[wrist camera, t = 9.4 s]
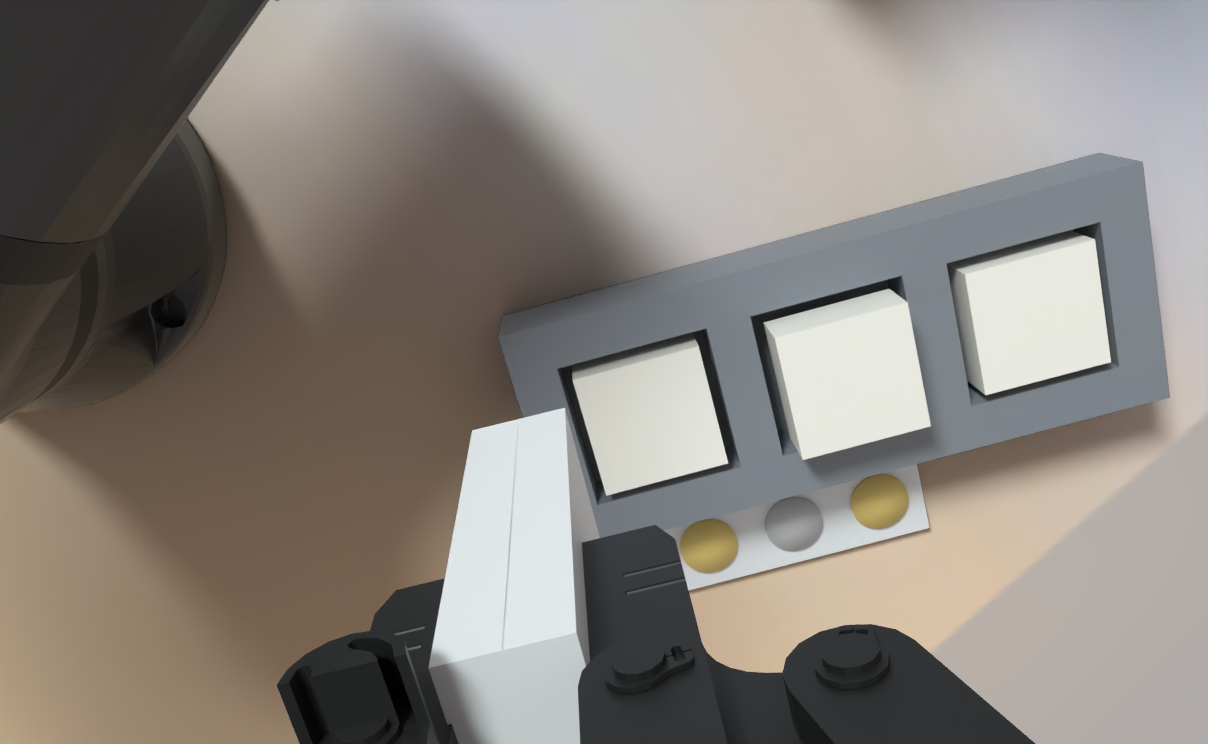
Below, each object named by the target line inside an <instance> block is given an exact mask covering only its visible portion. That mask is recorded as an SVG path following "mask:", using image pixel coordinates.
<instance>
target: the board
mask: <svg viewBox="0 0 1208 744" xmlns="http://www.w3.org/2000/svg"><path fill="white" fill-rule="evenodd" d="M1069 230H1071V231H1073V232H1076V233H1079V234H1082V235H1084V236H1087V237H1090V238H1093V239H1095V243H1096V251H1097V259H1098V266H1099V274H1100V281H1101V289H1102V297H1103V304H1104V312H1105V319H1106V327H1107V335H1108V342H1109V350H1110V357H1111V362H1110V363H1106V364H1102V365H1098V366H1095V367H1091V368H1087V369H1083V370H1080V371H1076V372H1072V373H1068V374H1064V375H1061V376H1057V377H1053V378H1049V379H1046V380H1042V381H1038V382H1034V383H1030V384H1027V385H1023V386H1019V387H1015V388H1012V389H1008V390H1004V391H1000V392H996V393H993V394H989V395H984V394H983V393H982V392H981V391H980V390H978V389H977V388H976V387H975V386H973V385H972V384H971V383H970V382H969V381H967V378H966V372H965V367H964V361H963V355H962V349H961V344H960V338H959V332H958V327H957V321H956V315H955V309H954V304H953V298H952V292H951V287H950V281H949V275H948V270H947V263H950V262H954V261H958V260H962V259H965V258H969V257H973V256H976V255H980V254H984V253H987V252H991V251H995V250H999V249H1002V248H1006V247H1010V246H1013V245H1017V244H1021V243H1024V242H1028V241H1032V240H1036V239H1039V238H1043V237H1047V236H1050V235H1054V234H1058V233H1061V232H1065V231H1069ZM886 289H890V290H892V291H893V292H894V293H896V294H897V295H898V296H900V297H901V298H902V299H904V300H905V301H906V302H908V307H909V312H910V318H911V323H912V328H913V334H914V339H915V344H916V349H917V355H918V360H919V365H920V371H921V376H922V381H923V387H924V392H925V397H926V402H927V408H928V413H929V418H930V424H931V426H930V427H926V428H923V429H919V430H915V431H911V432H907V433H904V434H900V435H896V436H892V437H888V438H885V439H881V440H877V441H873V442H870V443H866V444H862V445H858V446H854V447H851V448H847V449H843V450H839V451H835V452H832V453H828V454H824V455H820V456H817V457H813V458H809V459H805V460H802V458H801V456H800V455H799V453H798V451H797V449H796V448H795V446H794V444H793V443H792V441H791V439H790V435H789V431H788V427H787V422H786V418H785V414H784V409H783V405H782V401H781V397H780V392H779V388H778V384H777V379H776V375H775V371H774V366H773V362H772V358H771V353H770V349H769V345H768V340H767V336H766V332H765V328H764V323H763V322H767V321H771V320H775V319H778V318H782V317H786V316H789V315H793V314H797V313H801V312H804V311H808V310H812V309H815V308H819V307H823V306H826V305H830V304H834V303H838V302H841V301H845V300H849V299H852V298H856V297H860V296H863V295H867V294H871V293H875V292H878V291H882V290H886ZM691 332H692V333H693V335H694V337H695V339H696V341H697V344H698V346H699V350H700V353H701V357H702V361H703V365H704V369H705V373H706V377H707V381H708V385H709V389H710V393H711V397H712V401H713V405H714V409H715V413H716V417H717V421H718V425H719V429H720V433H721V437H722V440H723V444H724V448H725V452H726V456H727V460H728V464H724V465H720V466H717V467H713V468H709V469H705V470H702V471H698V472H694V473H690V474H686V475H683V476H679V477H675V478H671V479H668V480H664V481H660V482H656V483H652V484H649V485H645V486H641V487H637V488H634V489H630V490H626V491H622V492H618V493H615V494H611V495H607V496H606V493H605V490H604V486H603V483H602V479H601V476H600V472H599V469H598V466H597V462H596V459H595V455H594V452H593V449H592V445H591V442H590V438H589V435H588V432H587V428H586V425H585V421H584V418H583V414H582V411H581V408H580V404H579V401H578V397H577V394H576V391H575V387H574V384H573V380H572V365H573V364H577V363H580V362H584V361H588V360H592V359H595V358H599V357H603V356H606V355H610V354H614V353H617V352H621V351H625V350H629V349H632V348H636V347H640V346H643V345H647V344H651V343H654V342H658V341H662V340H666V339H669V338H673V337H677V336H680V335H684V334H688V333H691ZM498 339H499V342H500V346H501V349H502V352H503V355H504V359H505V362H506V365H507V368H508V371H509V375H510V378H511V381H512V384H513V387H514V391H515V394H516V397H517V400H518V403H519V407H520V410H521V413H522V416H523V418H525V417H529V416H533V415H537V414H541V413H545V412H549V411H553V410H557V409H562V408H565V410H566V413H567V417H568V421H569V425H570V428H571V432H572V436H573V440H574V443H575V447H576V451H577V454H578V458H579V462H580V466H581V469H582V473H583V477H584V480H585V484H586V488H587V492H588V495H589V499H590V503H591V507H592V510H593V514H594V518H595V521H596V525H597V529H598V533H599V536H600V538H603V537H607V536H611V535H615V534H619V533H623V532H627V531H631V530H636V529H640V528H644V527H648V526H652V525H656V526H658V527H659V528H661V529H662V530H663V531H664V530H667V529H671V528H675V527H679V526H683V525H686V524H690V523H694V522H698V521H702V520H705V519H709V518H713V517H717V516H721V515H724V514H728V513H732V512H736V511H740V510H744V509H747V508H751V507H755V506H759V505H763V504H766V503H770V502H774V501H778V500H782V499H785V498H789V497H793V496H797V495H801V494H804V493H808V492H812V491H816V490H820V489H823V488H827V487H831V486H835V485H839V484H842V483H846V482H850V481H854V480H858V479H861V478H865V477H869V476H873V475H877V474H880V473H884V472H888V471H892V470H896V469H899V468H903V467H907V466H911V465H915V464H919V463H922V462H926V461H930V460H934V459H938V458H941V457H945V456H949V455H953V454H957V453H960V452H964V451H968V450H972V449H976V448H979V447H983V446H987V445H991V444H995V443H998V442H1002V441H1006V440H1010V439H1014V438H1017V437H1021V436H1025V435H1029V434H1033V433H1036V432H1040V431H1044V430H1048V429H1052V428H1055V427H1059V426H1063V425H1067V424H1071V423H1075V422H1078V421H1082V420H1086V419H1090V418H1094V417H1097V416H1101V415H1105V414H1109V413H1113V412H1116V411H1120V410H1124V409H1128V408H1132V407H1135V406H1139V405H1143V404H1147V403H1151V402H1154V401H1158V400H1162V399H1166V398H1170V394H1169V386H1168V377H1167V368H1166V360H1165V351H1164V342H1163V334H1162V325H1161V316H1160V307H1159V299H1158V290H1157V281H1156V273H1155V264H1154V255H1153V247H1152V238H1151V229H1150V221H1149V212H1148V203H1147V194H1146V186H1145V177H1144V168H1143V162H1141V161H1137V160H1132V159H1127V158H1122V157H1117V156H1112V155H1107V154H1102V153H1097V154H1093V155H1090V156H1086V157H1082V158H1079V159H1075V160H1071V161H1068V162H1064V163H1060V164H1057V165H1053V166H1049V167H1046V168H1042V169H1039V170H1035V171H1031V172H1028V173H1024V174H1020V175H1017V176H1013V177H1009V178H1006V179H1002V180H998V181H995V182H991V183H987V184H984V185H980V186H976V187H973V188H969V189H965V190H962V191H958V192H954V193H951V194H947V195H943V196H940V197H936V198H932V199H929V200H925V201H921V202H918V203H914V204H910V205H907V206H903V207H899V208H896V209H892V210H888V211H885V212H881V213H877V214H874V215H870V216H866V217H863V218H859V219H855V220H852V221H848V222H844V223H841V224H837V225H833V226H830V227H826V228H822V229H819V230H815V231H811V232H808V233H804V234H800V235H797V236H793V237H789V238H786V239H782V240H778V241H775V242H771V243H767V244H764V245H760V246H756V247H753V248H749V249H745V250H742V251H738V252H734V253H731V254H727V255H723V256H720V257H716V258H712V259H709V260H705V261H701V262H698V263H694V264H690V265H687V266H683V267H679V268H676V269H672V270H668V271H665V272H661V273H657V274H654V275H650V276H646V277H643V278H639V279H635V280H632V281H628V282H624V283H621V284H617V285H613V286H610V287H606V288H602V289H599V290H595V291H591V292H588V293H584V294H580V295H577V296H573V297H569V298H566V299H562V300H558V301H555V302H551V303H548V304H544V305H540V306H537V307H533V308H529V309H526V310H522V311H518V312H515V313H511V314H507V315H504V316H502V320H501V325H500V330H499V334H498Z"/></svg>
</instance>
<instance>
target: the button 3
mask: <svg viewBox="0 0 1208 744" xmlns="http://www.w3.org/2000/svg"><path fill="white" fill-rule="evenodd" d="M947 270H948V275H949V281H950V287H951V292H952V298H953V304H954V309H955V315H956V321H957V327H958V332H959V338H960V344H961V349H962V355H963V361H964V367H965V372H966V378H967V381H969V382H970V383H971V384H972V385H973V386H975V387H976V388H977V389H978V390H980V391H981V392H982V393H983V394H984V395H989V394H993V393H996V392H1000V391H1004V390H1008V389H1012V388H1015V387H1019V386H1023V385H1027V384H1030V383H1034V382H1038V381H1042V380H1046V379H1049V378H1053V377H1057V376H1061V375H1064V374H1068V373H1072V372H1076V371H1080V370H1083V369H1087V368H1091V367H1095V366H1098V365H1102V364H1106V363H1110V362H1111V357H1110V350H1109V342H1108V335H1107V327H1106V319H1105V312H1104V304H1103V297H1102V289H1101V281H1100V274H1099V266H1098V259H1097V251H1096V243H1095V239H1093V238H1090V237H1087V236H1084V235H1082V234H1079V233H1076V232H1073V231H1071V230H1069V231H1065V232H1061V233H1058V234H1054V235H1050V236H1047V237H1043V238H1039V239H1036V240H1032V241H1028V242H1024V243H1021V244H1017V245H1013V246H1010V247H1006V248H1002V249H999V250H995V251H991V252H987V253H984V254H980V255H976V256H973V257H969V258H965V259H962V260H958V261H954V262H950V263H947Z"/></svg>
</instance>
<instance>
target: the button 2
mask: <svg viewBox="0 0 1208 744" xmlns="http://www.w3.org/2000/svg"><path fill="white" fill-rule="evenodd" d="M763 323H764V328H765V332H766V336H767V340H768V345H769V349H770V353H771V358H772V362H773V366H774V371H775V375H776V379H777V384H778V388H779V392H780V397H781V401H782V405H783V409H784V414H785V418H786V422H787V427H788V431H789V435H790V439H791V441H792V443H793V444H794V446H795V448H796V449H797V451H798V453H799V455H800V456H801V458H802V460H805V459H809V458H813V457H817V456H820V455H824V454H828V453H832V452H835V451H839V450H843V449H847V448H851V447H854V446H858V445H862V444H866V443H870V442H873V441H877V440H881V439H885V438H888V437H892V436H896V435H900V434H904V433H907V432H911V431H915V430H919V429H923V428H926V427H930V426H931V424H930V418H929V413H928V408H927V402H926V397H925V392H924V387H923V381H922V376H921V371H920V365H919V360H918V355H917V349H916V344H915V339H914V334H913V328H912V323H911V318H910V312H909V307H908V302H906V301H905V300H904V299H902V298H901V297H900V296H898V295H897V294H896V293H894V292H893V291H892V290H890V289H886V290H882V291H878V292H875V293H871V294H867V295H863V296H860V297H856V298H852V299H849V300H845V301H841V302H838V303H834V304H830V305H826V306H823V307H819V308H815V309H812V310H808V311H804V312H801V313H797V314H793V315H789V316H786V317H782V318H778V319H775V320H771V321H767V322H763Z"/></svg>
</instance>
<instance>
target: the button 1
mask: <svg viewBox="0 0 1208 744" xmlns="http://www.w3.org/2000/svg"><path fill="white" fill-rule="evenodd" d="M572 380H573V384H574V387H575V391H576V394H577V397H578V401H579V404H580V408H581V411H582V414H583V418H584V421H585V425H586V428H587V432H588V435H589V438H590V442H591V445H592V449H593V452H594V455H595V459H596V462H597V466H598V469H599V472H600V476H601V479H602V483H603V486H604V490H605V493H606V496H607V495H611V494H615V493H618V492H622V491H626V490H630V489H634V488H637V487H641V486H645V485H649V484H652V483H656V482H660V481H664V480H668V479H671V478H675V477H679V476H683V475H686V474H690V473H694V472H698V471H702V470H705V469H709V468H713V467H717V466H720V465H724V464H728V460H727V456H726V452H725V448H724V444H723V440H722V437H721V433H720V429H719V425H718V421H717V417H716V413H715V409H714V405H713V401H712V397H711V393H710V389H709V385H708V381H707V377H706V373H705V369H704V365H703V361H702V357H701V353H700V350H699V346H698V344H697V341H696V339H695V337H694V335H693V333H692V332H691V333H688V334H684V335H680V336H677V337H673V338H669V339H666V340H662V341H658V342H654V343H651V344H647V345H643V346H640V347H636V348H632V349H629V350H625V351H621V352H617V353H614V354H610V355H606V356H603V357H599V358H595V359H592V360H588V361H584V362H580V363H577V364H573V365H572Z"/></svg>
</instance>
